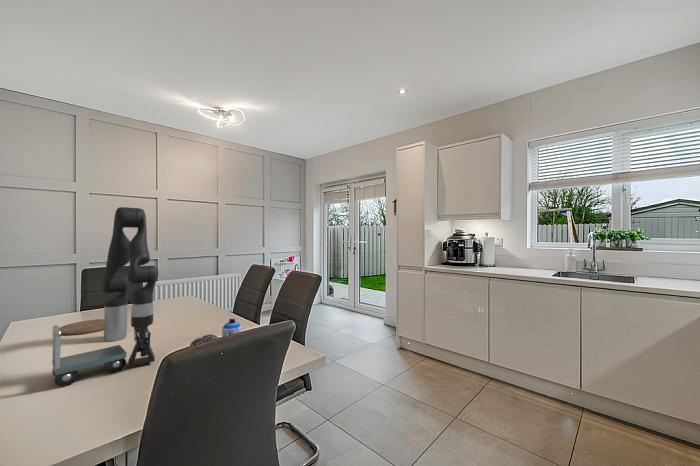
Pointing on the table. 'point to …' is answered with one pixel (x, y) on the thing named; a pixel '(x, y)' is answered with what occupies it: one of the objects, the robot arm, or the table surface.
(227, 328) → the aerosol can
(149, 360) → the triangular clip stand
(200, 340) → the decorative flower
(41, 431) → the table surface
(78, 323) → the trivet
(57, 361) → the trolley
